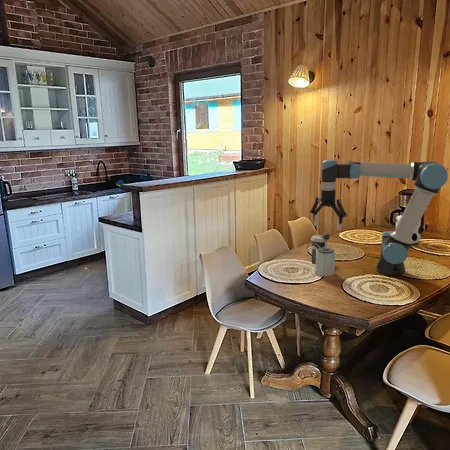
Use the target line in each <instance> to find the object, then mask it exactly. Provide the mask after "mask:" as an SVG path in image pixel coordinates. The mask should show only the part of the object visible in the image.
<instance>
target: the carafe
mask: <svg viewBox="0 0 450 450" xmlns="http://www.w3.org/2000/svg"><path fill="white" fill-rule="evenodd" d="M315 252H316V261H315ZM325 253H326V254H325ZM335 263H336V250H334V248H331V247H327V251H325V247H322V248H318V249H312V248H311V264H312V265H315V267H314V269H315V271H314V272H315V274H316V273H317V274H318V275H317V274H316V275H317V276H321V275H322V276H321V277H332V276H333V275H335V270H336V269H335V267H336V264H335Z"/></svg>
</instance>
